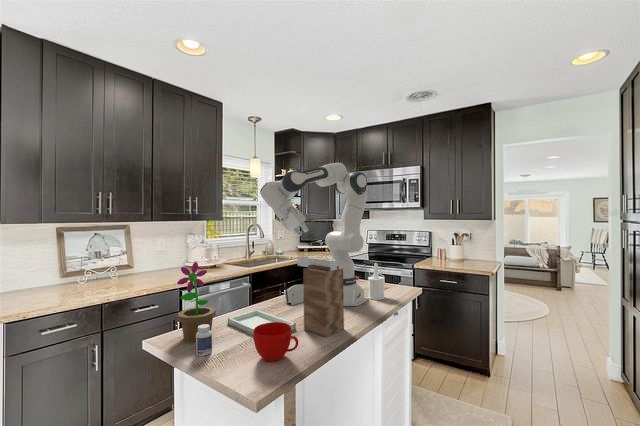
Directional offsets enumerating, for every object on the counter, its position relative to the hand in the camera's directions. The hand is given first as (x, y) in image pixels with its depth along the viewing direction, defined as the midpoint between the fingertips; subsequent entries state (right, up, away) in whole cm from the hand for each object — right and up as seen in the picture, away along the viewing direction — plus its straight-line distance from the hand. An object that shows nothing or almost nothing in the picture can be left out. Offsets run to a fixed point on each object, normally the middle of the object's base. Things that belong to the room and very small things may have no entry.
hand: (304, 233), depth 150 cm
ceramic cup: (-7, -40, -42) cm, 59 cm away
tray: (-18, -40, -12) cm, 46 cm away
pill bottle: (-34, -41, -37) cm, 65 cm away
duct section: (+6, -14, -14) cm, 21 cm away
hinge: (-5, -40, +27) cm, 49 cm away
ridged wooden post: (+9, -40, -17) cm, 44 cm away
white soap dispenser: (+41, -39, +31) cm, 64 cm away
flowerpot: (-42, -41, -23) cm, 63 cm away
